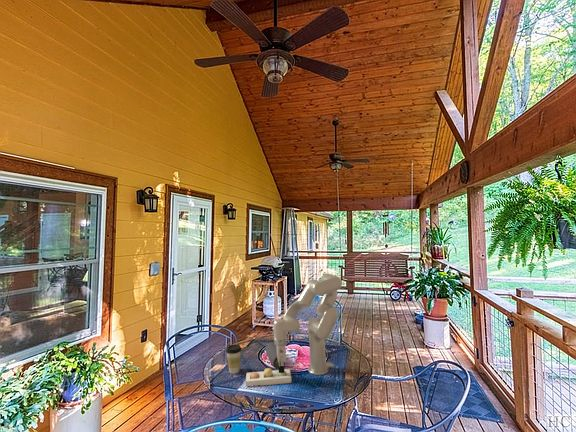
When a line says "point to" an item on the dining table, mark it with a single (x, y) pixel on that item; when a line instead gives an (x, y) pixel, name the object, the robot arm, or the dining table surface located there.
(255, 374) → the button terracotta
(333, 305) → the robot arm
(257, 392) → the dining table surface
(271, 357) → the bluetooth speaker
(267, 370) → the button ochre
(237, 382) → the dining table surface
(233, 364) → the coffee cup
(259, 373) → the console
